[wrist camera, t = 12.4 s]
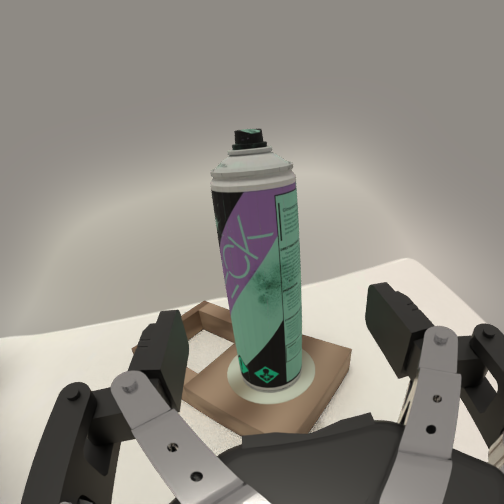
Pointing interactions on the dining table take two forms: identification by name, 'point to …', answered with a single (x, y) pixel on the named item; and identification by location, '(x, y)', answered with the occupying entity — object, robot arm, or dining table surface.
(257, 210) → the spray can
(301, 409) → the walnut tray
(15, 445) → the dining table surface
